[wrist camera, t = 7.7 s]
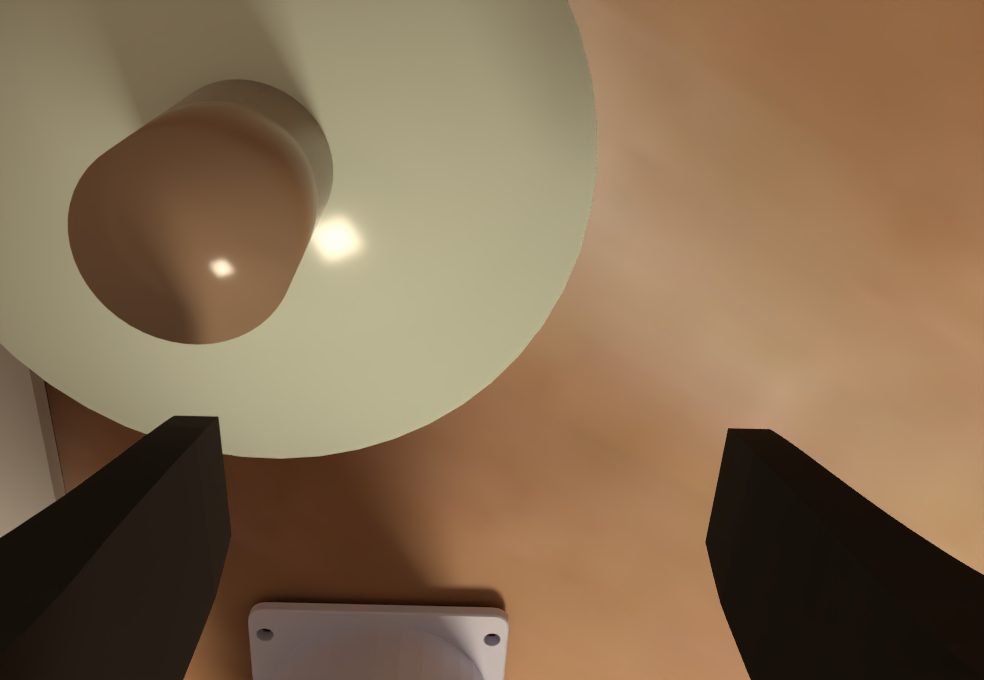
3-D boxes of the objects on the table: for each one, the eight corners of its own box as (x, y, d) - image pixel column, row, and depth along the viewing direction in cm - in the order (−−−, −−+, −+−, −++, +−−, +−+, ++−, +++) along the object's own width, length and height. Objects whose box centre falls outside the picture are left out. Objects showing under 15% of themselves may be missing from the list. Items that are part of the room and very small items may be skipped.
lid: (532, 464, 19) (553, 623, 15) (-50, 405, 18) (-209, 560, 14) (659, -174, 14) (750, -212, 9) (-162, -317, 13) (-483, -435, 8)
